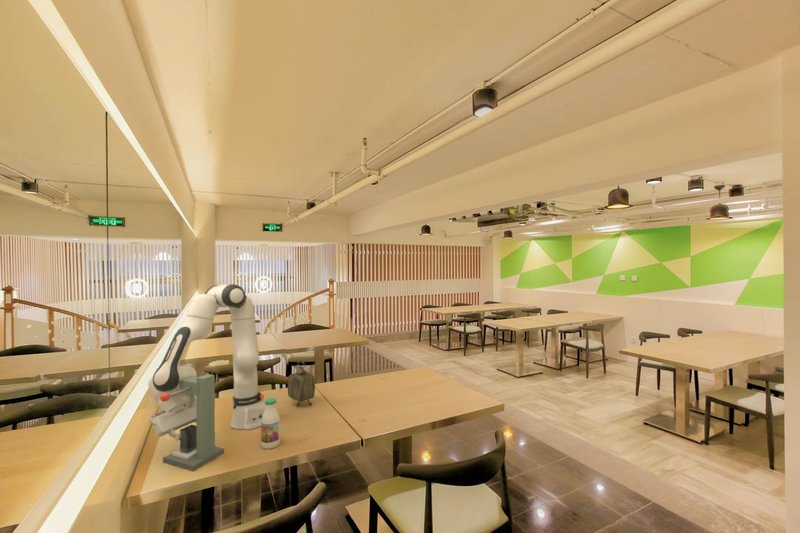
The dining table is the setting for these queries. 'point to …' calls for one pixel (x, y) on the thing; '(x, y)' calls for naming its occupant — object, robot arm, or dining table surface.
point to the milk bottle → (270, 425)
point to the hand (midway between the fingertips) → (190, 434)
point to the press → (198, 422)
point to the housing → (188, 439)
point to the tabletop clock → (301, 385)
